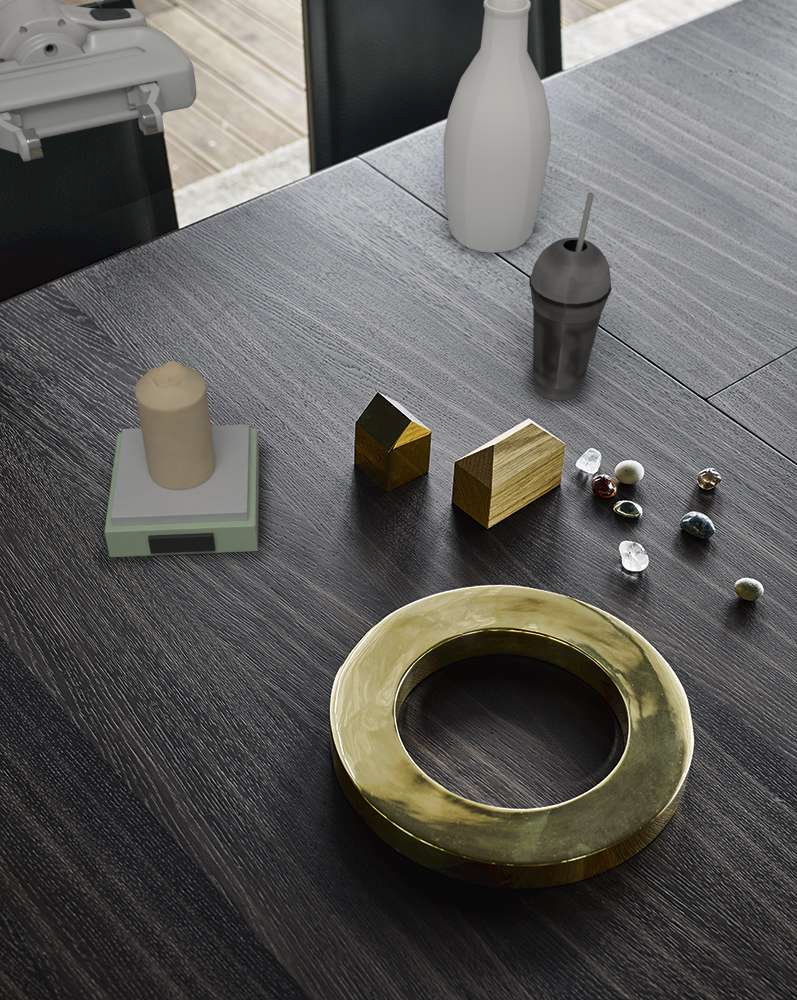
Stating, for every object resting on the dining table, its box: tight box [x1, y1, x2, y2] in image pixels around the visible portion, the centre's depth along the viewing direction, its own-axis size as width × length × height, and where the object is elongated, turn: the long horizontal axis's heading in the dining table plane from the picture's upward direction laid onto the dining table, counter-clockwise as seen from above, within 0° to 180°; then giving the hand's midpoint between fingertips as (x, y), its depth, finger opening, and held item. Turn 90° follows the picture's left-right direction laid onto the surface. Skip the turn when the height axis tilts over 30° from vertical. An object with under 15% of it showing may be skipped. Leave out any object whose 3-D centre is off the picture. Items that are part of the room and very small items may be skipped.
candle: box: [134, 360, 215, 490], centre depth 100 cm, size 6×6×10 cm
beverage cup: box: [528, 191, 612, 402], centre depth 112 cm, size 7×7×20 cm
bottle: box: [443, 0, 552, 254], centre depth 129 cm, size 11×11×25 cm
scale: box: [103, 423, 260, 558], centre depth 105 cm, size 12×12×4 cm
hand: (94, 137), depth 95 cm, fingers open, 8 cm apart
